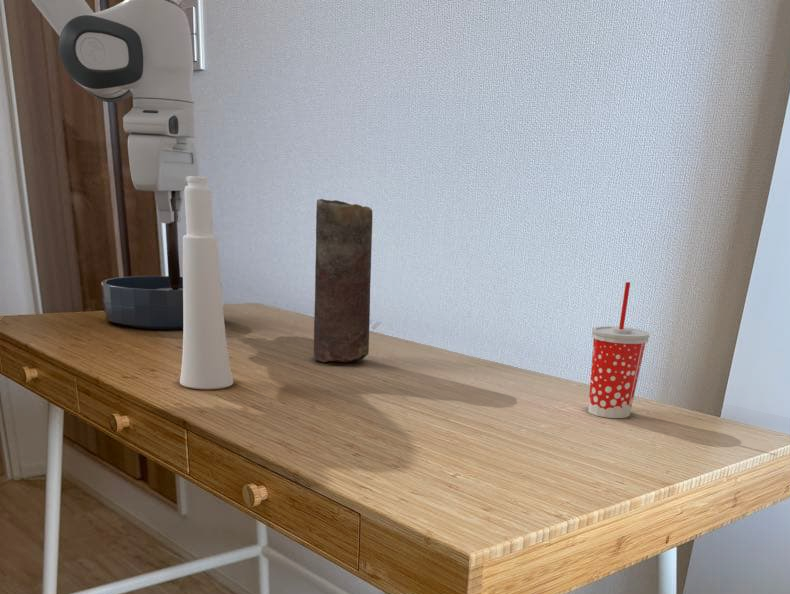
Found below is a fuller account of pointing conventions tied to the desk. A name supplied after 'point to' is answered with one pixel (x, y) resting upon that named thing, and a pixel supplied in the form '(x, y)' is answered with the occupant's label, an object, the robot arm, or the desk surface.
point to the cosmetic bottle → (202, 296)
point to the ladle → (173, 249)
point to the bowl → (143, 302)
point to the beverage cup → (615, 366)
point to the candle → (342, 281)
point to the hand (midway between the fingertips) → (170, 222)
